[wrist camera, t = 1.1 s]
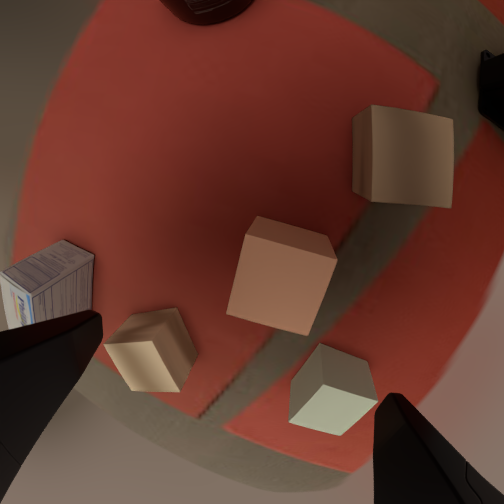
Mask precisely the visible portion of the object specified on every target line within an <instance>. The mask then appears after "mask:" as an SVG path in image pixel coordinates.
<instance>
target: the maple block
mask: <svg viewBox="0 0 504 504" xmlns="http://www.w3.org/2000/svg"><path fill="white" fill-rule="evenodd" d="M104 346H105V348H106V350H107V352H108V353H109V355H110V357H111V358H112V360H113V362H114V363H115V365H116V367H117V368H118V370H119V372H120V373H121V375H122V376H123V378H124V380H125V381H126V383H127V384H128V386H129V387H130V389H131V390H132V391H150V392H180V391H181V389H182V387H183V385H184V383H185V381H186V379H187V377H188V375H189V373H190V371H191V368H192V366H193V364H194V362H195V360H196V358H197V356H198V353H197V351H196V349H195V347H194V345H193V342H192V340H191V338H190V336H189V334H188V332H187V329H186V327H185V325H184V322H183V320H182V318H181V316H180V313H179V311H178V309H177V307H176V308H170V309H164V310H158V311H151V312H145V313H138V314H132V315H131V316H130V317H129V318H128V319H127V320H126V321H125V322H124V323H123V324H122V325H121V326H120V327H119V328H118V329H117V330H116V331H115V332H114V333H113V335H112V336H111V337H110V338H109V339H108V340H107V341H106V342H105V343H104Z"/></svg>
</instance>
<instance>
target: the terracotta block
mask: <svg viewBox="0 0 504 504" xmlns="http://www.w3.org/2000/svg"><path fill="white" fill-rule="evenodd" d="M336 263H337V257H336V255H335V253H334V250H333V248H332V245H331V243H330V241H329V238H328V236H327V235H323V234H320V233H317V232H313V231H310V230H306V229H303V228H299V227H296V226H292V225H289V224H285V223H282V222H278V221H275V220H271V219H267V218H264V217H260V216H257V217H256V218H255V220H254V222H253V223H252V225H251V226H250V228H249V229H248V231H247V232H246V234H245V238H244V242H243V246H242V250H241V254H240V258H239V262H238V267H237V271H236V275H235V279H234V283H233V287H232V291H231V296H230V300H229V304H228V308H227V312H226V314H228V315H231V316H235V317H238V318H242V319H245V320H249V321H252V322H256V323H259V324H263V325H267V326H270V327H274V328H278V329H282V330H286V331H290V332H294V333H297V334H302V335H306V336H308V334H309V332H310V329H311V327H312V325H313V322H314V320H315V317H316V315H317V312H318V310H319V307H320V305H321V303H322V300H323V297H324V295H325V292H326V290H327V287H328V285H329V282H330V279H331V277H332V274H333V271H334V269H335V266H336Z"/></svg>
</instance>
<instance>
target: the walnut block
mask: <svg viewBox="0 0 504 504" xmlns="http://www.w3.org/2000/svg"><path fill="white" fill-rule="evenodd" d="M352 139H353V173H352V191H353V192H354V193H356V194H358V195H360V196H362V197H364V198H366V199H367V200H369V201H371V202H384V203H398V204H411V205H423V206H434V207H444V208H451V204H452V192H453V172H454V134H453V119H449V118H445V117H440V116H436V115H431V114H427V113H422V112H416V111H411V110H405V109H399V108H393V107H386V106H378V105H370V106H369V107H367V108H366V109H364V110H363V111H361V112H360V113H359V114H357V115H356V116H354V117H353V118H352Z"/></svg>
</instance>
